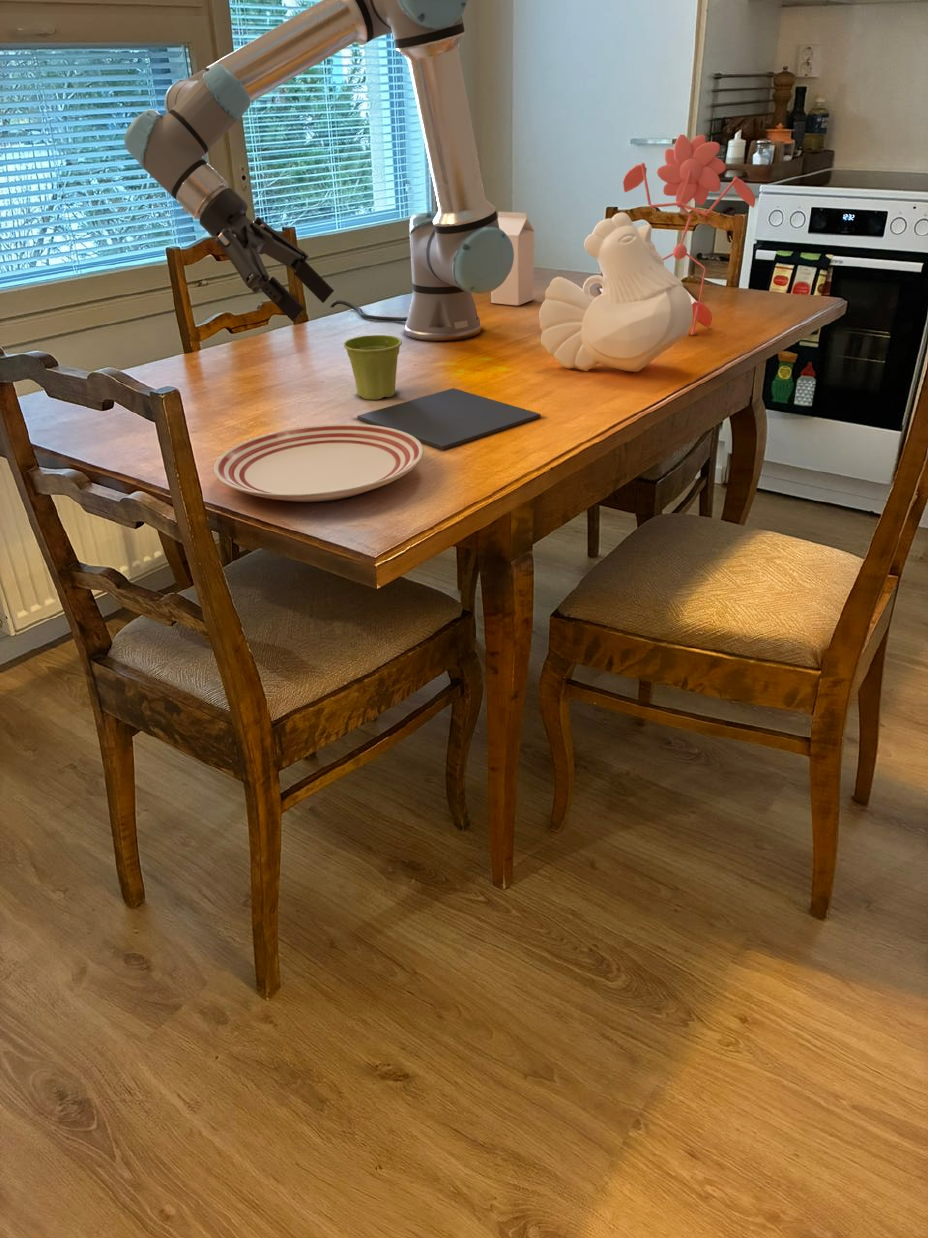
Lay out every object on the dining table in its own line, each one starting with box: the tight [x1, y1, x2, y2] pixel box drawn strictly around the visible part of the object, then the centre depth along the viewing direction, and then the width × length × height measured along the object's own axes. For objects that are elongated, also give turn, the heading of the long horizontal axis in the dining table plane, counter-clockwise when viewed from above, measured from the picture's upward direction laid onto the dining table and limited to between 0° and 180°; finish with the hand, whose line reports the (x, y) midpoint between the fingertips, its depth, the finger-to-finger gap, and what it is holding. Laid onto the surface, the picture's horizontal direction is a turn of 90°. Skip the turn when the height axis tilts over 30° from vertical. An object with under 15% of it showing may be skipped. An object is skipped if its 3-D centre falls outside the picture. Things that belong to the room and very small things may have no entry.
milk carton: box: [490, 211, 535, 307], centre depth 215 cm, size 7×7×19 cm
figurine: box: [622, 134, 756, 338], centre depth 187 cm, size 15×26×35 cm, turn 64°
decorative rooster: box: [538, 211, 694, 373], centre depth 166 cm, size 25×16×25 cm
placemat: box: [356, 387, 542, 451], centre depth 148 cm, size 20×20×1 cm
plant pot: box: [343, 334, 403, 401], centre depth 157 cm, size 9×9×9 cm
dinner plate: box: [213, 423, 425, 503], centre depth 127 cm, size 27×27×3 cm
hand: (314, 305), depth 154 cm, fingers open, 13 cm apart
